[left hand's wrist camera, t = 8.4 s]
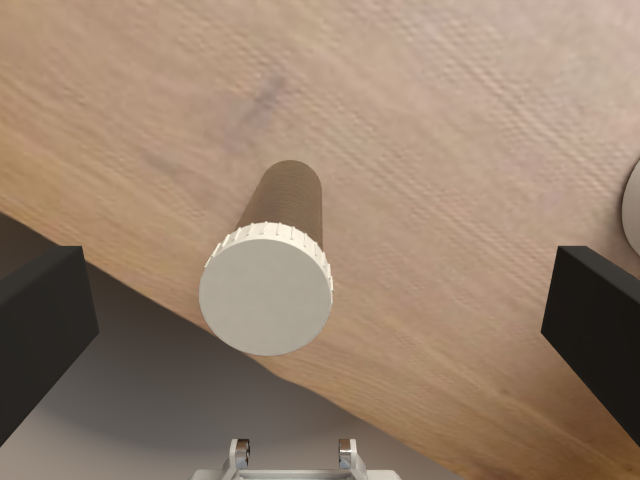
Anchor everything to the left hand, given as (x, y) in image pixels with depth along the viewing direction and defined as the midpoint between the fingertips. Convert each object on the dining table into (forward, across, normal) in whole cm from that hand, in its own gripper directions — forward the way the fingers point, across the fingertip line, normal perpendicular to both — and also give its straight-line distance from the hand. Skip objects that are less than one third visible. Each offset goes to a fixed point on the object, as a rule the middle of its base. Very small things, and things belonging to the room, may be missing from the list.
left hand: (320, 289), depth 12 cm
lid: (+6, +2, +4) cm, 7 cm away
